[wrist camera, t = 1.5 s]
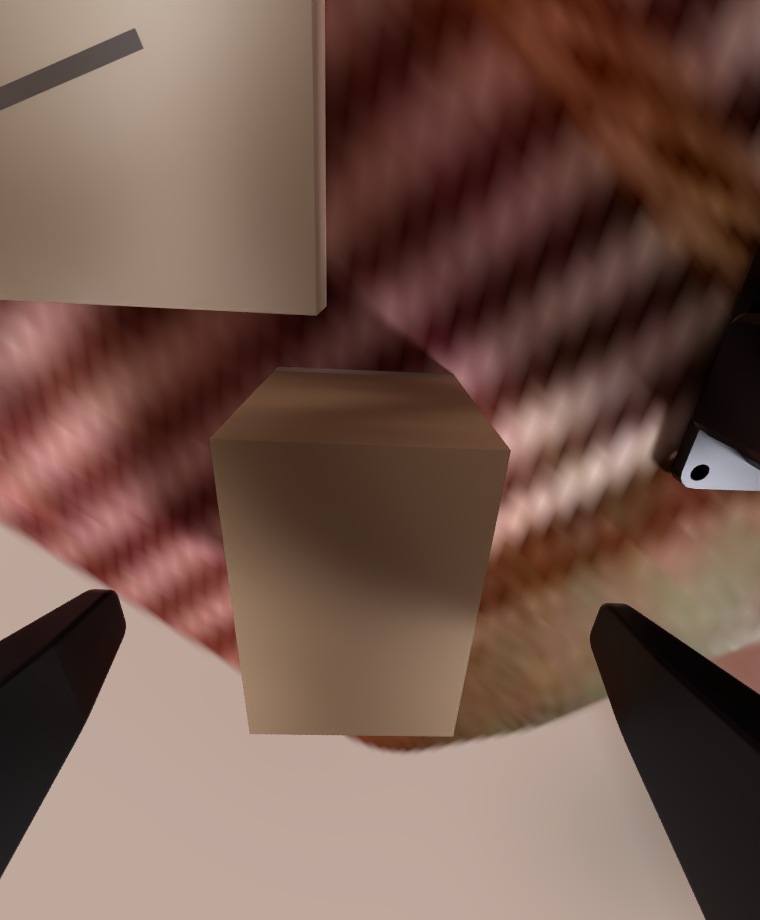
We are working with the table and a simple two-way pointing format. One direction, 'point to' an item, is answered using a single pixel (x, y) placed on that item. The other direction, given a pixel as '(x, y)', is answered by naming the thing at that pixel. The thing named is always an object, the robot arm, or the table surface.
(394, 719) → the block
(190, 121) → the birch board
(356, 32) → the table surface
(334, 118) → the table surface
